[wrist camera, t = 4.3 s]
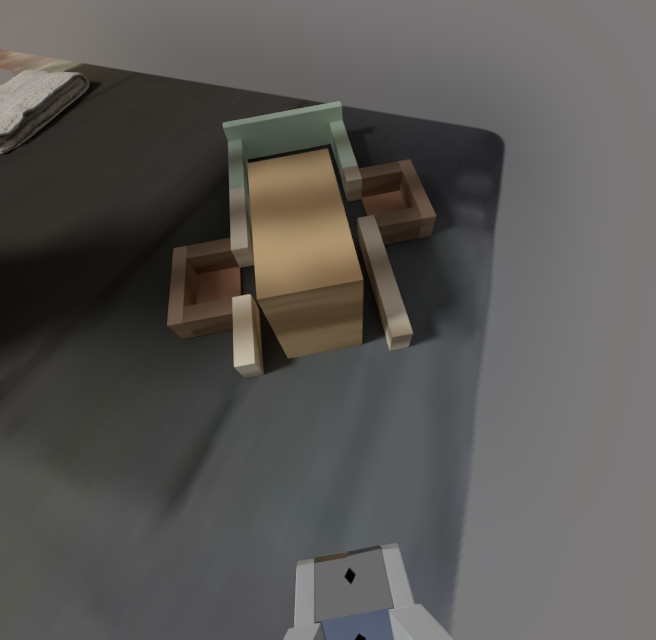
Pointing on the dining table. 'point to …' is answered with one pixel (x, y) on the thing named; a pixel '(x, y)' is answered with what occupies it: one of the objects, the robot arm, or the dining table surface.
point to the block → (304, 254)
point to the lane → (236, 252)
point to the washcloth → (35, 103)
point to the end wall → (285, 130)
